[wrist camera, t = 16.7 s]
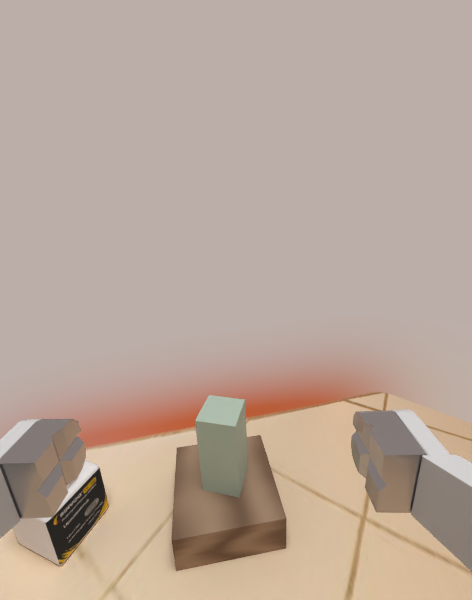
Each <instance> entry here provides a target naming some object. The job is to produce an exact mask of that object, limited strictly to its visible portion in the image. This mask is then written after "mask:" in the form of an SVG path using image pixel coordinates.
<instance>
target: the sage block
mask: <svg viewBox="0 0 472 600" xmlns="http://www.w3.org/2000/svg"><path fill="white" fill-rule="evenodd" d="M195 423H196V433H197V442H198V451H199V460H200V469H201V478H202V487H203V490H206V491H211V492H215V493H220V494H225V495H229V496H234V497H238V498H240V494H241V490H242V486H243V482H244V478H245V474H246V470H247V467H248V457H247V435H246V412H245V400H244V399H235V398H227V397H219V396H208V398H207V400H206V402H205V404H204V405H203V407H202V409H201V411H200V413H199V415H198V417H197V418H196V420H195Z"/></svg>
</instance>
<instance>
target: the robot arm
mask: <svg viewBox="0 0 472 600" xmlns="http://www.w3.org/2000/svg"><path fill="white" fill-rule="evenodd" d="M353 425H354V426H355V428H356V430H357V431H356V432H355V433H354V434H353V435H352V440H351V448H352V456H353V459H354V463H355V465H356V468H357V470H358V472H359V473H360V474H361V475H362V476H364V477H365V478H366V484H365V488H366V491H367V493H368V495H369V497H370V499H371V502H372V504H373V506H374V508H375V511H376V512H389V513H411V515H412V516H413V517H414V518H415V519H416V520H417V521H418V522H419V523H420V524H421V525H423V526H424V527H425V528H426V529H427V530H428V531H429V532H430V533H431V534H432V535H433V536H434V537H435V538H436V539H437V540H439V541H440V542H441V543H442V544H443V545H444V546H445V547H446V548H447V549H448V550H449V551H450V552H451V553H452V554H453V555H454V556H456V557H457V558H458V559H459V560H460V561H461V562H462V563H463V564H464V565H465V566H466V567H467V568H468V569H469V570H470V571H472V463H471V462H469V461H467V460H465V459H463V458H462V457H460V456H458V455H450V453H449V452H448V451H447V450H446V449H445V448H444V446H443V445H442V444H441V443H440V442H439V441H438V439H437V438H436V437H435V436H434V435H433V434H432V432H431V431H430V430H429V429H428V428H427V427H426V425H425V424H424V423H423V422H422V421H421V420H420V418H419V417H418V416H417V415H416V414H415V413H414V412H413V411H412V410H410V409H405V410H391V411H366V412H355V414H354V418H353ZM80 431H81V429H80V426H79V422H78V421H77V420H74V419H41V420H38V419H36V420H35V419H34V420H32V419H29V420H23V421H20V422H18V424H16V425H15V426H14V427H13V428H12V429H11V430H10V431H9V432H8V433H7V434H6V435H5V436H4V437H3V438H2V439H1V440H0V538H1V537H2V536H4V535H5V534H6V533H7V532H8V531H9V530H10V529H12V528H13V527H14V526H15V525H16V524H17V523H19V522H20V519H27V518H48V517H54V515H55V513H56V512H57V510H58V508H59V507H60V505H61V503H62V502H63V500H64V499H65V497H66V495H67V494H68V489H67V485H68V484H70V483H71V482H72V481H74V480H75V479H76V478H77V477H78V475H79V474H80V472H81V470H82V469H83V465H84V462H85V458H86V448H85V444H84V442H83V441H82V440H81V439H80V438H79V437H78V434H79V433H80Z"/></svg>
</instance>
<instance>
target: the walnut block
mask: <svg viewBox="0 0 472 600" xmlns="http://www.w3.org/2000/svg"><path fill="white" fill-rule="evenodd" d="M247 457H248V467H247V470H246V474H245V478H244V482H243V486H242V490H241V494H240V498H238V497H234V496H229V495H225V494H220V493H215V492H211V491H206V490H203V487H202V478H201V469H200V460H199V451H198V445H192V446H186V447H179V448H177V455H176V473H175V491H174V509H173V526H172V545H173V552H174V558H175V564H176V570H177V571H179V570H183V569H188V568H193V567H198V566H203V565H208V564H212V563H217V562H222V561H227V560H232V559H237V558H241V557H246V556H251V555H256V554H261V553H266V552H270V551H275V550H280V549H285V548H286V516H285V513H284V510H283V506H282V503H281V500H280V497H279V494H278V490H277V487H276V484H275V481H274V477H273V474H272V471H271V468H270V465H269V461H268V458H267V455H266V452H265V448H264V445H263V442H262V439H261V436H260V435H258V436H251V437H247Z"/></svg>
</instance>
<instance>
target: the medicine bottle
mask: <svg viewBox="0 0 472 600" xmlns="http://www.w3.org/2000/svg"><path fill="white" fill-rule="evenodd" d="M67 489H68V494H67V495H66V497H65V499H64V500H63V502H62V503H61V505H60V507H59V508H58V510H57V512H56V513H55V515H54V517H48V518H27V519H20V522H19V523H17V524H16V525H15V526H14V527H13V530H14V533H15V535H16V538H17V540H18V542H19V544H21V545H23V546H25V547H27V548H28V549H30V550H32V551H34V552H36V553H37V554H39V555H41V556H43V557H45V558H46V559H48V560H50V561H52V562H54V563H55V564H57V565H59V566H61V565H62V564H63V563H64V562H65V561H66V560H67V559H68V557H69V556H70V555H71V554H72V552H73V551H74V550H75V549H76V547H77V546H78V545H79V544H80V542H81V541H82V540H83V539H84V537H85V536H86V535H87V534H88V532H89V531H90V530H91V529H92V527H93V526H94V525H95V524H96V522H97V521H98V520H99V519H100V517H101V516H102V515H103V514H104V512H105V511H106V510H107V509H108V501H107V497H106V492H105V488H104V484H103V480H102V476H101V472H100V468H99V466H98V465H97V464H94V463H91V462H88V461H85V462H84V465H83V469H82V470H81V472H80V474H79V475H78V477H77V478H76V479H75V480H74V481H72V482H71V483H70V484H68V485H67Z"/></svg>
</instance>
